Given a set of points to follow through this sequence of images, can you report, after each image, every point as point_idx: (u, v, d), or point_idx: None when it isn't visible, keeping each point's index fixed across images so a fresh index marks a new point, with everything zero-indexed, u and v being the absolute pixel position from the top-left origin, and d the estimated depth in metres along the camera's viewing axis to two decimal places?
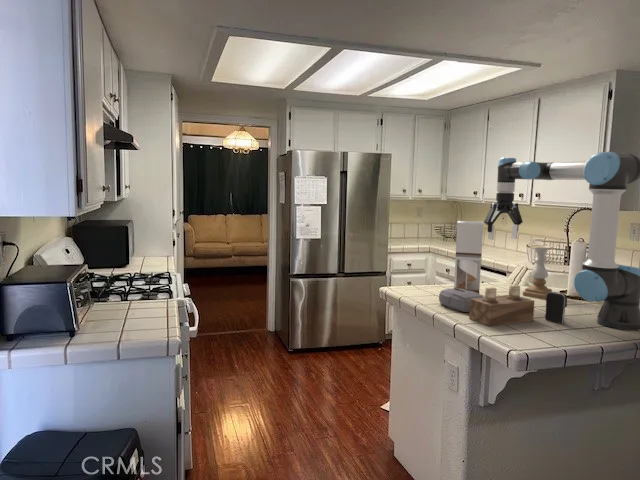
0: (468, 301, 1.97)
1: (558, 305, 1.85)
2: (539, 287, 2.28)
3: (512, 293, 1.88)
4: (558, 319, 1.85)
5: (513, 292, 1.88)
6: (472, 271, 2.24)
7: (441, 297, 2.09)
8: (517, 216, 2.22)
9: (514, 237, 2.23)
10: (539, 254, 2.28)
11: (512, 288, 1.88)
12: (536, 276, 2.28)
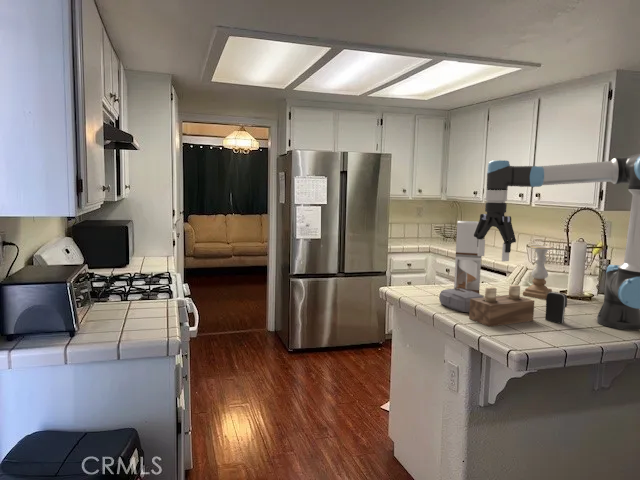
0: (468, 301, 1.97)
1: (558, 305, 1.85)
2: (539, 287, 2.28)
3: (512, 293, 1.88)
4: (558, 319, 1.85)
5: (513, 292, 1.88)
6: (472, 271, 2.24)
7: (441, 297, 2.09)
8: None
9: None
10: (539, 254, 2.28)
11: (512, 288, 1.88)
12: (536, 276, 2.28)
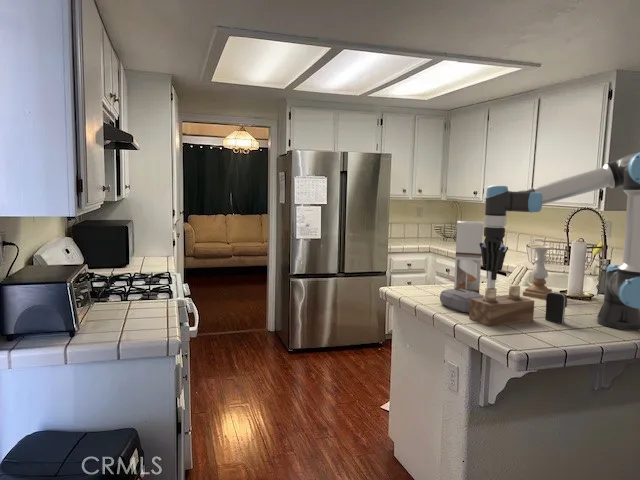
0: (469, 301, 1.97)
1: (558, 305, 1.85)
2: (539, 287, 2.28)
3: (512, 293, 1.88)
4: (558, 319, 1.85)
5: (513, 292, 1.88)
6: (472, 271, 2.24)
7: (442, 297, 2.09)
8: None
9: None
10: (539, 254, 2.28)
11: (512, 288, 1.88)
12: (536, 276, 2.28)
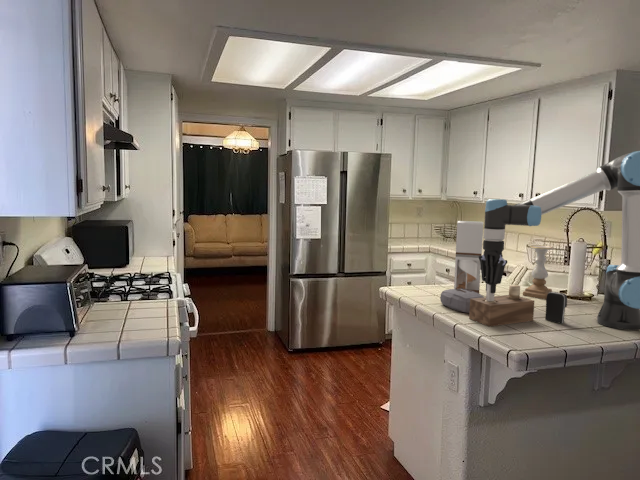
0: (469, 302, 1.96)
1: (558, 305, 1.85)
2: (539, 287, 2.28)
3: (512, 293, 1.88)
4: (558, 319, 1.85)
5: (513, 292, 1.88)
6: (472, 271, 2.24)
7: (442, 297, 2.08)
8: None
9: None
10: (539, 254, 2.28)
11: (512, 288, 1.88)
12: (536, 276, 2.28)
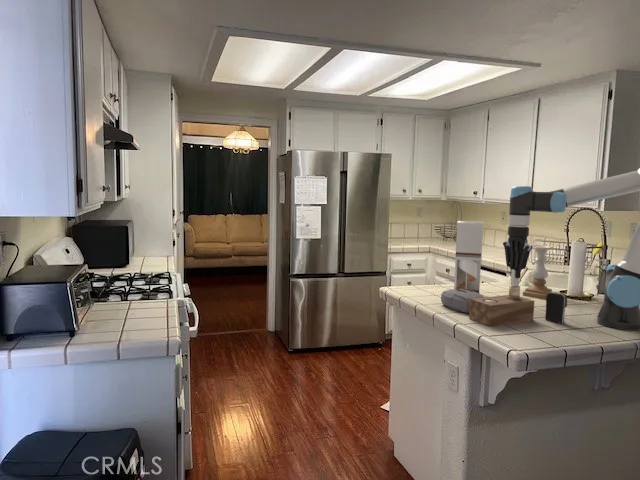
0: None
1: (558, 305, 1.85)
2: (539, 287, 2.28)
3: (512, 293, 1.88)
4: (558, 319, 1.85)
5: (513, 292, 1.88)
6: (472, 271, 2.24)
7: (443, 298, 2.08)
8: None
9: None
10: (539, 254, 2.28)
11: (512, 288, 1.88)
12: (536, 276, 2.28)
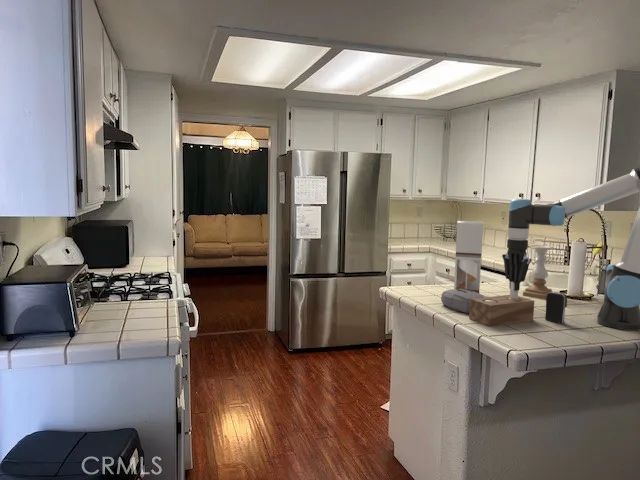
0: None
1: (558, 305, 1.85)
2: (539, 287, 2.28)
3: None
4: (558, 319, 1.85)
5: None
6: (472, 271, 2.24)
7: (443, 298, 2.08)
8: None
9: None
10: (539, 254, 2.28)
11: None
12: (536, 276, 2.28)
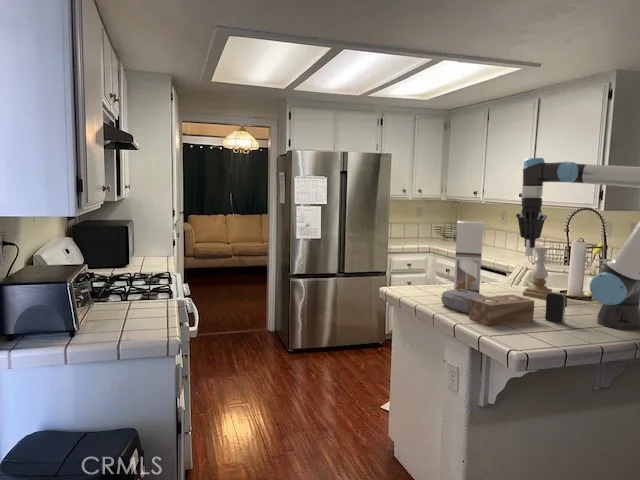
0: None
1: (558, 305, 1.85)
2: (539, 287, 2.28)
3: None
4: (558, 319, 1.85)
5: None
6: (472, 271, 2.24)
7: (444, 298, 2.07)
8: None
9: None
10: (539, 254, 2.28)
11: None
12: (536, 276, 2.28)
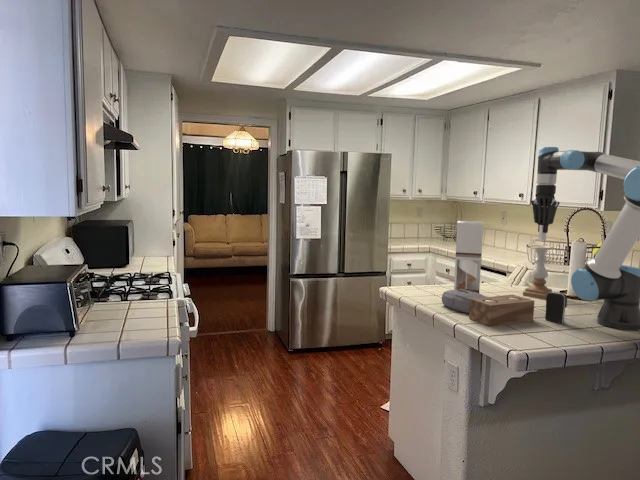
0: None
1: (558, 305, 1.85)
2: (539, 287, 2.28)
3: None
4: (558, 319, 1.85)
5: None
6: (472, 271, 2.24)
7: (444, 298, 2.07)
8: None
9: None
10: (539, 254, 2.28)
11: None
12: (536, 276, 2.28)
